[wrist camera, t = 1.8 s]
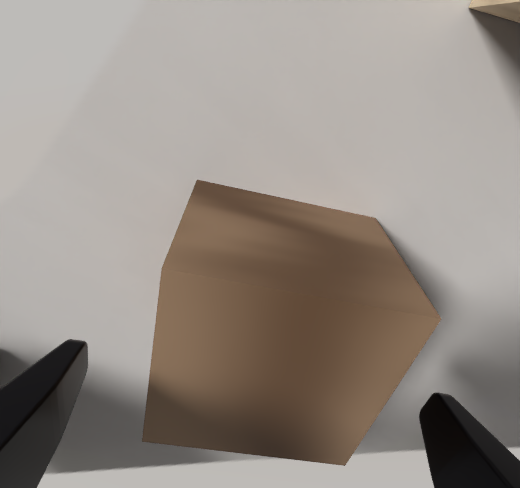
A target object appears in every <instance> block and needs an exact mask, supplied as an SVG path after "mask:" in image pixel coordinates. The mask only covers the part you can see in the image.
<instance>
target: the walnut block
mask: <svg viewBox="0 0 520 488" xmlns="http://www.w3.org/2000/svg"><path fill="white" fill-rule="evenodd" d="M440 320H441V318H440V316H439V314H438V313H437V311H436V310H435V308H434V307H433V305H432V304H431V302H430V301H429V299H428V298H427V296H426V295H425V293H424V292H423V290H422V288H421V287H420V285H419V284H418V282H417V281H416V279H415V278H414V276H413V275H412V273H411V272H410V270H409V269H408V267H407V266H406V264H405V262H404V261H403V259H402V258H401V256H400V255H399V253H398V252H397V250H396V249H395V247H394V246H393V244H392V243H391V241H390V240H389V238H388V236H387V235H386V233H385V232H384V230H383V229H382V227H381V226H380V224H379V223H378V221H377V220H376V218H373V217H368V216H363V215H359V214H354V213H349V212H345V211H340V210H335V209H331V208H326V207H321V206H317V205H312V204H307V203H303V202H298V201H294V200H289V199H284V198H280V197H275V196H270V195H266V194H261V193H256V192H252V191H247V190H242V189H238V188H233V187H229V186H224V185H219V184H215V183H210V182H205V181H201V180H197V181H196V184H195V186H194V189H193V191H192V194H191V196H190V199H189V201H188V204H187V206H186V209H185V211H184V214H183V216H182V219H181V221H180V224H179V226H178V229H177V231H176V234H175V237H174V239H173V242H172V244H171V247H170V249H169V252H168V254H167V257H166V259H165V262H164V264H163V267H162V271H161V280H160V289H159V297H158V306H157V315H156V324H155V332H154V341H153V350H152V359H151V367H150V376H149V385H148V394H147V402H146V411H145V420H144V429H143V438H142V442H150V443H159V444H167V445H176V446H184V447H192V448H201V449H209V450H218V451H226V452H235V453H243V454H252V455H260V456H268V457H277V458H285V459H294V460H303V461H311V462H320V463H328V464H336V465H344V466H345V465H346V463H347V462H348V460H349V459H350V457H351V456H352V454H353V453H354V451H355V450H356V448H357V447H358V445H359V444H360V442H361V440H362V439H363V437H364V436H365V434H366V433H367V431H368V430H369V428H370V427H371V425H372V424H373V422H374V421H375V419H376V418H377V416H378V415H379V413H380V412H381V410H382V409H383V407H384V405H385V404H386V402H387V401H388V399H389V398H390V396H391V395H392V393H393V392H394V390H395V389H396V387H397V386H398V384H399V383H400V381H401V380H402V378H403V377H404V375H405V374H406V372H407V371H408V369H409V367H410V366H411V364H412V363H413V361H414V360H415V358H416V357H417V355H418V354H419V352H420V351H421V349H422V348H423V346H424V345H425V343H426V342H427V340H428V339H429V337H430V336H431V334H432V332H433V331H434V329H435V328H436V326H437V325H438V323H439V322H440Z"/></svg>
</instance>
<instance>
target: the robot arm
mask: <svg viewBox="0 0 520 488" xmlns="http://www.w3.org/2000/svg"><path fill="white" fill-rule="evenodd" d="M87 368H88V346H87V343H86V342H85V341H80V340H73V339H69V340H67V341H65V342H64V343H62V344H61V345H59V346H58V347H57V348H55V349H54V350H53V351H51V352H50V353H49V354H47V355H46V356H45V357H43V358H42V359H40V360H39V361H38V362H36V363H35V364H34V365H32V366H31V367H30V368H28V369H27V370H25V371H24V372H23V373H21V374H20V375H19V376H17V377H16V378H15V379H13V380H12V381H10V382H9V383H8V384H6V385H5V386H4V387H2V388H1V389H0V488H37V486H38V484H39V482H40V480H41V478H42V476H43V474H44V472H45V470H46V468H47V466H48V464H49V462H50V460H51V458H52V456H53V454H54V453H55V451H56V448H57V446H58V444H59V442H60V440H61V438H62V435H63V433H64V430H65V428H66V425H67V423H68V420H69V417H70V415H71V412H72V409H73V407H74V404H75V402H76V399H77V396H78V394H79V391H80V388H81V386H82V383H83V380H84V378H85V375H86V372H87ZM419 419H420V424H421V429H422V434H423V439H424V443H425V448H426V453H427V457H428V463H429V467H430V472H431V476H432V480H433V484H434V488H520V461H519V460H518V459H517V458H516V457H515V456H514V455H513V454H512V453H511V452H510V451H509V450H508V449H507V448H506V447H505V446H504V445H503V444H502V443H500V442H499V441H498V440H497V439H496V438H495V437H494V436H493V435H492V434H491V433H490V432H489V431H488V430H487V429H486V428H485V427H484V426H483V425H482V424H481V423H480V422H478V421H477V420H476V419H475V418H474V417H473V416H472V415H471V414H470V413H469V412H468V411H467V410H466V409H465V408H464V407H463V406H462V405H461V404H460V403H459V402H458V401H456V400H455V399H454V398H453V397H452V396H451V395H448V394H443V393H434V394H432V395H431V397H430V398H429V399H428V401H427V402H426V403H425V405H424V406H423V407H422V409H421V411H420V415H419Z"/></svg>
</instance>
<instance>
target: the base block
mask: <svg viewBox="0 0 520 488" xmlns="http://www.w3.org/2000/svg"><path fill="white" fill-rule="evenodd" d="M469 8H471V9H474V10H478V11H481V12H484V13H488V14H491V15H494V16H498V17H501V18H504V19H508V20H511V21H515V22H518V23H520V0H472V1H471V4H470V6H469Z"/></svg>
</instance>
